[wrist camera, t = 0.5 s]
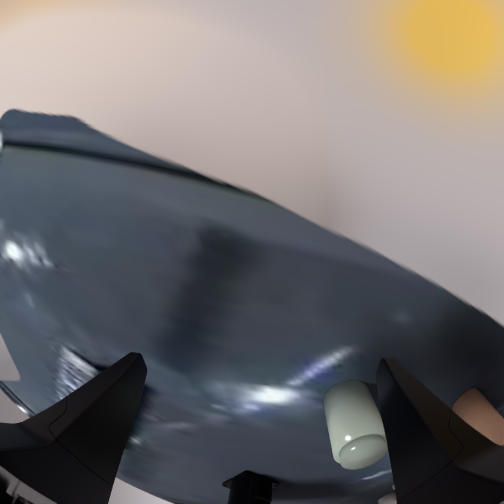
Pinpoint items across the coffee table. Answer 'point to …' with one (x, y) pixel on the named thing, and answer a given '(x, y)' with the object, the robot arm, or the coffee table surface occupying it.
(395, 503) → the cream jar
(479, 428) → the terracotta jar
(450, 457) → the robot arm
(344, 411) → the sage jar
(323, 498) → the coffee table surface
